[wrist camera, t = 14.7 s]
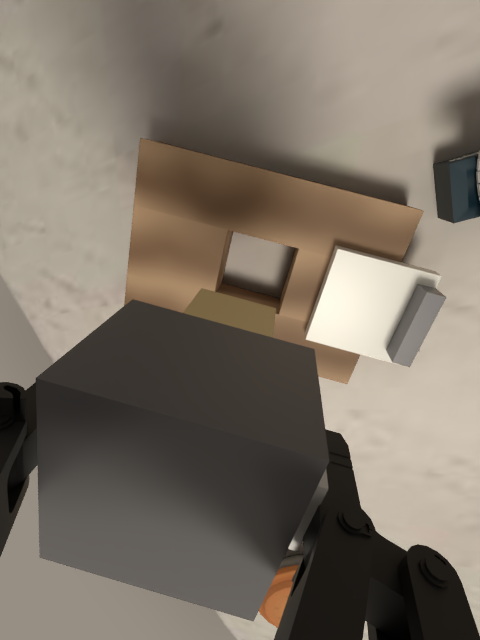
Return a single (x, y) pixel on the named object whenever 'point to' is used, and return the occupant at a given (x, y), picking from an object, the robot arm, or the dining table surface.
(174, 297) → the socket board
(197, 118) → the dining table surface
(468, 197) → the watch
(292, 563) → the pie
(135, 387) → the plug
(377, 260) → the plate
